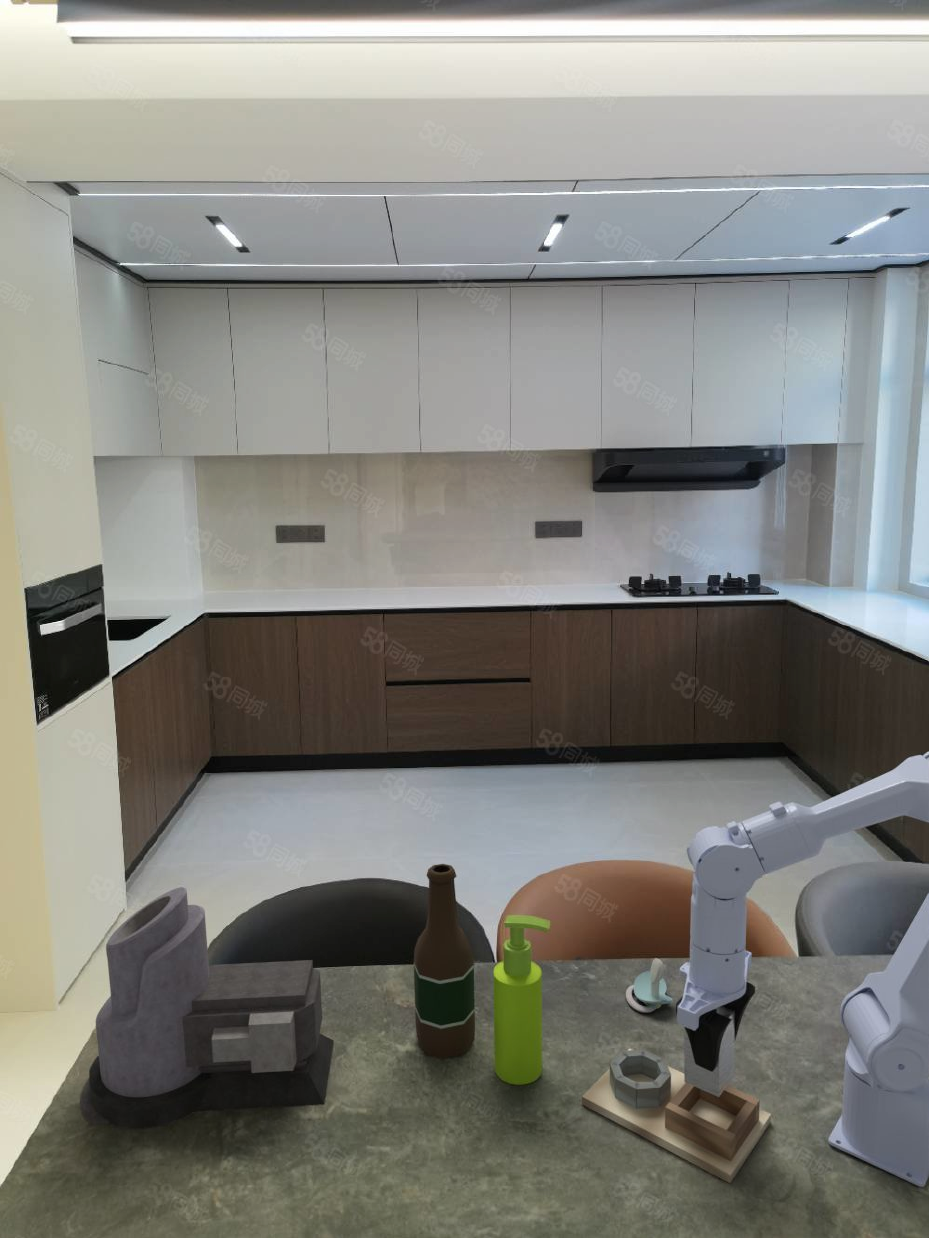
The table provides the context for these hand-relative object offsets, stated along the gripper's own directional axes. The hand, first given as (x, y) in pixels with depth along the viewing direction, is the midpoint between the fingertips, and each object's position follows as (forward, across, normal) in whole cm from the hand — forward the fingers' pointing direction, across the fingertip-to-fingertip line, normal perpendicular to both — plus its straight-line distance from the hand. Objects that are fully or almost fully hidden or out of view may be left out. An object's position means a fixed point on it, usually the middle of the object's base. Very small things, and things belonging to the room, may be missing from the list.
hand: (714, 1055), depth 94 cm
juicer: (+10, +31, -52) cm, 61 cm away
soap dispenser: (+10, +5, -22) cm, 25 cm away
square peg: (+3, 0, 0) cm, 3 cm away
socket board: (+9, 0, -4) cm, 10 cm away
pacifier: (+10, -17, -17) cm, 26 cm away
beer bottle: (+10, +7, -34) cm, 36 cm away
